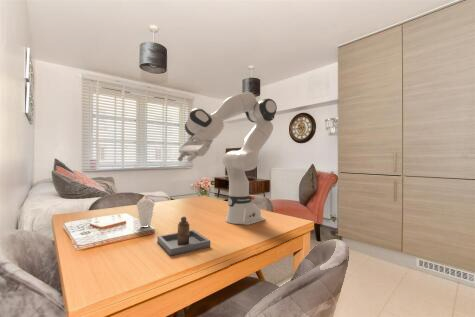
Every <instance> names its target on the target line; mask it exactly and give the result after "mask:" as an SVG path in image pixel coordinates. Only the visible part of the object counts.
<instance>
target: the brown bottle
mask: <svg viewBox="0 0 475 317" xmlns="http://www.w3.org/2000/svg"><path fill="white" fill-rule="evenodd" d="M189 230H190V223H189V221H187V217H186V216H181V218H180V221H179V223H178V224H177V233H178V245H186V244H189Z"/></svg>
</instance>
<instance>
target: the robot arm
mask: <svg viewBox="0 0 475 317" xmlns="http://www.w3.org/2000/svg"><path fill="white" fill-rule="evenodd" d="M277 106H278V105H277V103H276V101H274V100H273V99H272V98H264V99H261V100H260V101H258V100H257V98H256V96H255V94H254V93H253V92H250V91H249V92H248V91H246V92H241V93H236V94H233V95H230V97H228V98H225V100H224V101H223V102H222V103H221V105H220V106H219V107H218V108H217V109H216V110H215V111H214V112H213V113H210V112H209V113H208V112H207V111H206V110H204V109H203V108H199V107H196V108H193V109H191V111H190V112H189V115H188V117H187V121H186V122H185V124H184V130H185V132H186V134H188V135H190V136H189V137H188V138H187V140H186V141H185V142H184V143H183V145H182V146H181V147H180V148H179V150H178V153H179V156H178V157H177V161H178V162H182V160H184V158H185V157H187V158H186V161H187V162H189V163H191V162H192V161H193V160H195V159H196V158H198V157H204V156H205V155H206V153H208V152H209V149H210V148H211V144H213V142H214V140H215V139H216V138H218V137H219V135H220V134H221V133H222V131H223V130H224V128H225V124H224V121H226V120H230V119H232V118H235V117H236V116H240V115H242V114H245V115H246V118H247V120H248V121H249V122H251V123H254V126H253V127H252V128H251V129H250V131H249V132H248V133H247V135H246V136H245V137H244V138H243V144H242V147H241V148H240V149H238V150H230V151H228V152H226V153H224V154H223V157H222V164H223V165H224V167H225V169H226V172H227V177H228V196H227V197H228V198H227V203H228V208H227V212H226V217H225V222H226V223H228V224H233V225H246V226H248V225H252V224H255V223H256V224H257V223H260V222H263V221H265V220H266V218H265V217H264V216H263V215H262V213H261V209H260V208H259V206H257V205H256V204H255V203H253V201H254V200H255V199H256V197H255V195H254V196H253V195H250V181H249V179H248V178H247V175H246V173H245V172H247V171H254V170H255V169H256V168H257V167H258V164H259V153H260V151H261V150H262V148H263V147H264V145H265V144H266V143H267V141H268V139H270V136H271V134H272V132H273V130H274V125H273V123H272V122H271V121H273V120H274V119H275V115H276V113H277V111H278V110H277Z"/></svg>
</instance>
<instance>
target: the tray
mask: <svg viewBox="0 0 475 317" xmlns="http://www.w3.org/2000/svg"><path fill="white" fill-rule="evenodd" d="M156 239H157V244H158V245H159V246H160V247H161V248H163V250H164V251H165V253H167V254H168V255H169V256H170V257H173V256H177V255H181V254H186V253H190V252H193V251H199V250H203V249H207V248H208V249H209V248H210V247H211V240H210V239H209V238H207V237H206V236H204V235H203V234H201V233H199V232H198V231H196V230H194V229H189V244H186V245H178V232H173V233H168V234H162V235H161V234H160V235H157V238H156Z"/></svg>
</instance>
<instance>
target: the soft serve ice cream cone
mask: <svg viewBox="0 0 475 317" xmlns="http://www.w3.org/2000/svg"><path fill="white" fill-rule="evenodd" d="M155 205H156V204H155V201H153V200H152V198H151V197H150V195H148V194H144V196H143V197H142V198H140V199H139V201H137V203H136V208H137V212H138V219H139V225H140V227H141V226H147V225H148V226H150V227H151V223H152V218H153V216H154V215H153V213H154V207H155Z"/></svg>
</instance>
